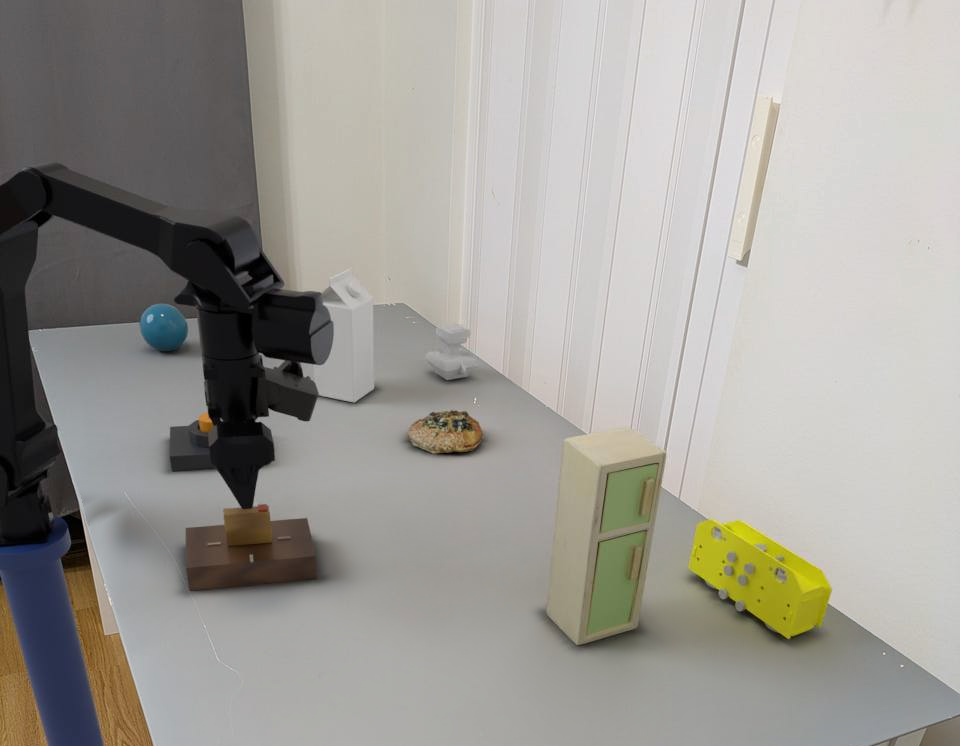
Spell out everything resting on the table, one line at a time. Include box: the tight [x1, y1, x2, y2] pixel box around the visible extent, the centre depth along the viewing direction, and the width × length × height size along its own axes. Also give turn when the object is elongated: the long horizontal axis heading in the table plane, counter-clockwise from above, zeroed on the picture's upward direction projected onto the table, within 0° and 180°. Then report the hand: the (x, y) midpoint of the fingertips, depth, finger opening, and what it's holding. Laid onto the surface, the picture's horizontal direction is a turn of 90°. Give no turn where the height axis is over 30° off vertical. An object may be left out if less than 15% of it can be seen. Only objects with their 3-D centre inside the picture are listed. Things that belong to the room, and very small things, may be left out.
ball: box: [139, 303, 189, 352], centre depth 164 cm, size 8×8×8 cm
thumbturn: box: [222, 503, 272, 546], centre depth 107 cm, size 5×2×4 cm, turn 105°
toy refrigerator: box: [546, 426, 667, 646], centre depth 97 cm, size 8×7×21 cm
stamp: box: [425, 322, 479, 381], centre depth 160 cm, size 9×7×8 cm
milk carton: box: [313, 267, 375, 403], centre depth 149 cm, size 7×7×19 cm
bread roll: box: [407, 409, 484, 454], centre depth 139 cm, size 11×11×5 cm
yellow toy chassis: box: [688, 518, 833, 640], centre depth 105 cm, size 16×6×8 cm, turn 31°
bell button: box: [198, 412, 214, 433], centre depth 131 cm, size 4×4×2 cm
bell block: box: [169, 419, 215, 472], centre depth 132 cm, size 12×10×4 cm
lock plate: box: [184, 517, 318, 592], centre depth 109 cm, size 14×9×3 cm, turn 105°
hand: (244, 488), depth 105 cm, fingers open, 9 cm apart
